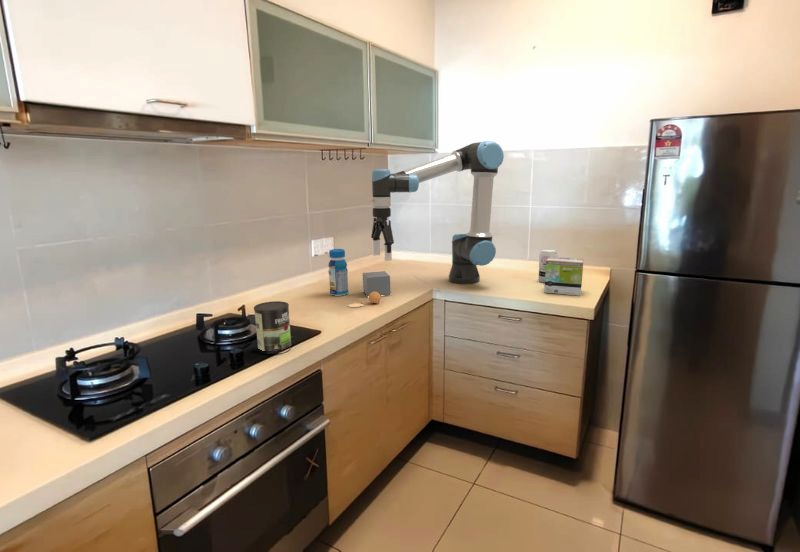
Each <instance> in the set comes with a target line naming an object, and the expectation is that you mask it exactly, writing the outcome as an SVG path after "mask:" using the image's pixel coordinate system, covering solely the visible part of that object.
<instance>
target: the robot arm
mask: <svg viewBox="0 0 800 552" xmlns="http://www.w3.org/2000/svg"><path fill="white" fill-rule="evenodd" d="M503 161H504V150H503V148H502V146H500V144H498V143H497V142H496V141H493V140H492V141H491V140H485V141H479V142H473V143H470V144H467V145H465V146H463V147H460V148H459V149H456V150H453V151H451V154H449V155H445V156H442V157H439V158H436V159H433V160H431V161H428V162H424V163H422V164H419V165H416V166H413V167H410V168H407V169H404V170H401V171H398V172H395V173H391V170H390V169H389V168H388V169H387V168H386V169H385V168H384V169H383V168H381V169H379V168H377V169H373V170H372V172H371V185H372V186H371V188H372V189H371V190H372V191H371V192H372V194H371V195H372V199H371V202H372V207H373V208H372V218H373V224H372V230H371V239H372V241H373V243H372V244H373V256H381V243H380V242H381V238H380V236H381V234H382V236H383V240H384V244H383V246H384V261H385V262H386V261H393V260H392V258H393V257H392V256H393V255H392V245H393V244H394V243H395V240H394V235H393V230H392V225H391V224H392V221H391V220H389V219H388V218H390V217H391V216H392V215H391V213H392V209H391V206H392V203H391V201H392V197H391V195H392V194H391V193H416V192H417V191H418V190H419V187H420V185H419V184H421V183H423V182H427V181H430V180H432V179H435V178H438V177H441V176H443V175H447V174H449V173H453V172H455V171H457V172H458V173H459V172H463V171H467V170H470V174H471V175H472V176H473V186H472V199H471V214H470V217H471V218H470V225H469V226H470V228H469V232H466V233H456V234H453V235H452V238H451V239H452V240H451V253H452V254H451V255H452V256H451V261H452V262H451V263H452V265H451V267H450V271H449V274H448V281H449V282H450V281H451V282H450V283H453V282H455V283H454V284H460V283H469V284H475V283H479V282H480V281H481V280H480V279H481V276H480V273H479V272H480V271H479V269H478V266H480V267H481V266H482V267H483V266H487V265H489V264H491V262H493V260H494V258H495V257H496V252H497V250H496V246H495V244H494V243H493V234H491V232H490V228H491V227H490V226H491V215H492V203H493V189H494V178H495V177H496V176H497V175H498V170H499V167H501V165H502V164H503Z"/></svg>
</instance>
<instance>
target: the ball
mask: <svg viewBox="0 0 800 552" xmlns="http://www.w3.org/2000/svg"><path fill="white" fill-rule="evenodd" d="M381 298H382V296H380V294H379V293H378V292H371V293H370V294H369V298H368V301H369V302H370V303H371V304H373V303H376V304H378V303H380V302H381Z"/></svg>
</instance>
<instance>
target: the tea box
mask: <svg viewBox="0 0 800 552" xmlns="http://www.w3.org/2000/svg"><path fill="white" fill-rule="evenodd" d="M583 271H584V258H579V257H564V256H563V257H562V256H560V257H559V256H558V257H549V256H548V258H547V261H546V271H545V283H544V285H543V287H544V289H543V291H544V294H559V295H570V296H579V297H580V296H581V293H582V286H583V285H582V284H583Z"/></svg>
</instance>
